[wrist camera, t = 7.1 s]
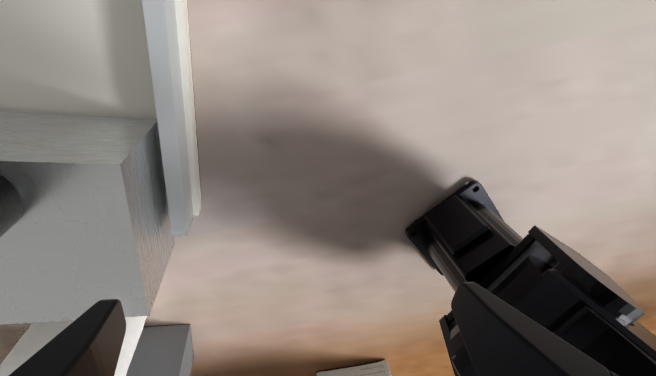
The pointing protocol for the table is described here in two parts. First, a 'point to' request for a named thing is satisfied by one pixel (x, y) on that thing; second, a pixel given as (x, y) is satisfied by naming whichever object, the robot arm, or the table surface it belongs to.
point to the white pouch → (47, 331)
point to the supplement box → (360, 370)
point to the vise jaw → (80, 215)
